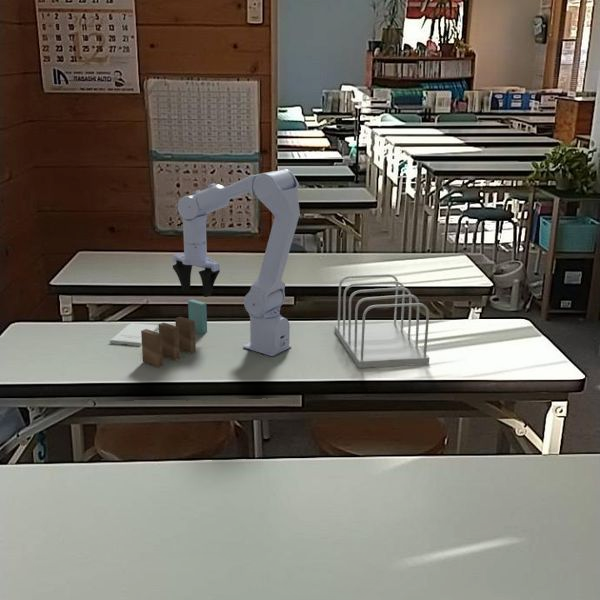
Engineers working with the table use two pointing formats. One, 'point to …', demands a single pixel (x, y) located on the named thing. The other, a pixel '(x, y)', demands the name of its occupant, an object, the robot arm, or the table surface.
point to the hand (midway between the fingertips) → (196, 293)
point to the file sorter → (381, 330)
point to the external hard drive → (132, 334)
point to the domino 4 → (198, 315)
